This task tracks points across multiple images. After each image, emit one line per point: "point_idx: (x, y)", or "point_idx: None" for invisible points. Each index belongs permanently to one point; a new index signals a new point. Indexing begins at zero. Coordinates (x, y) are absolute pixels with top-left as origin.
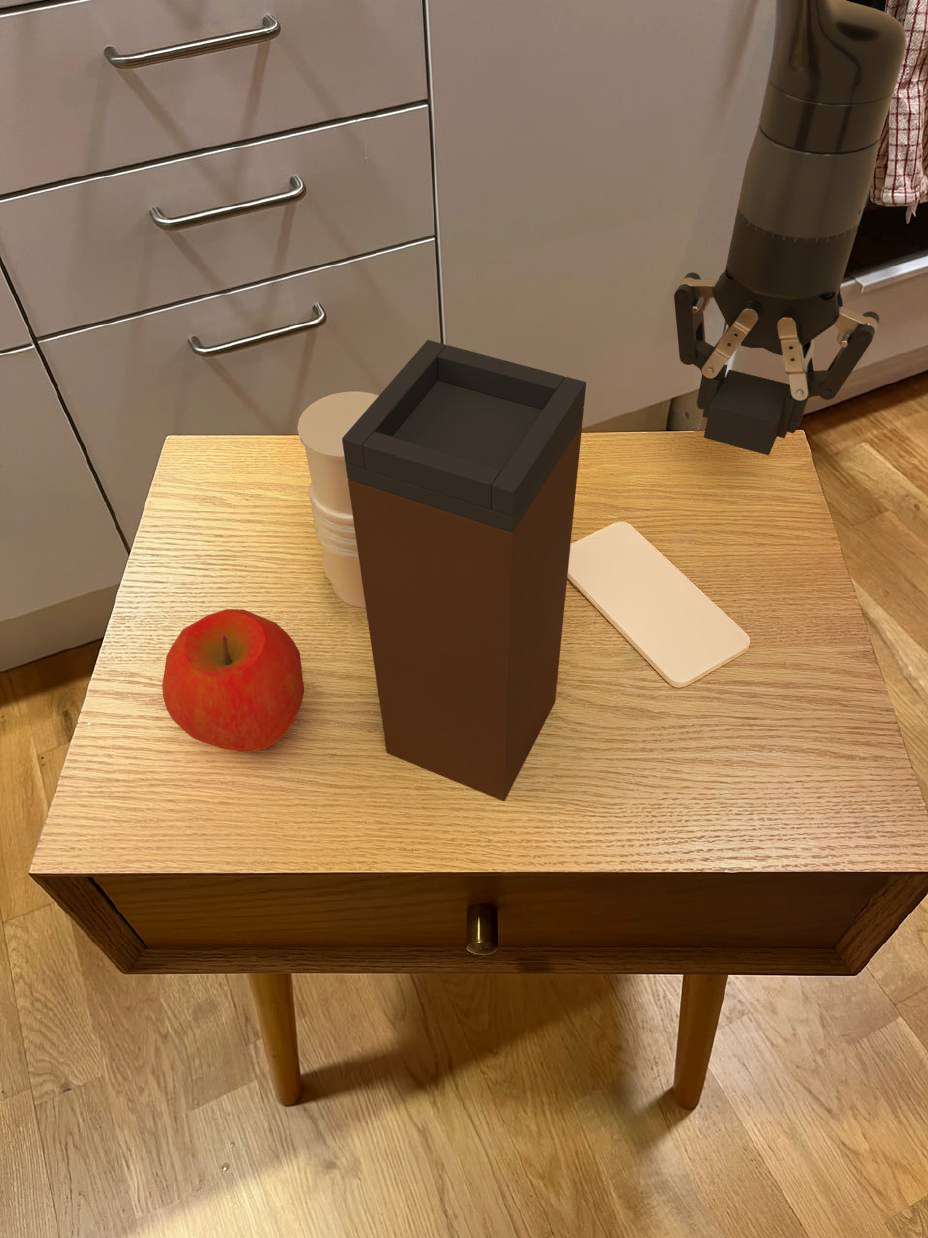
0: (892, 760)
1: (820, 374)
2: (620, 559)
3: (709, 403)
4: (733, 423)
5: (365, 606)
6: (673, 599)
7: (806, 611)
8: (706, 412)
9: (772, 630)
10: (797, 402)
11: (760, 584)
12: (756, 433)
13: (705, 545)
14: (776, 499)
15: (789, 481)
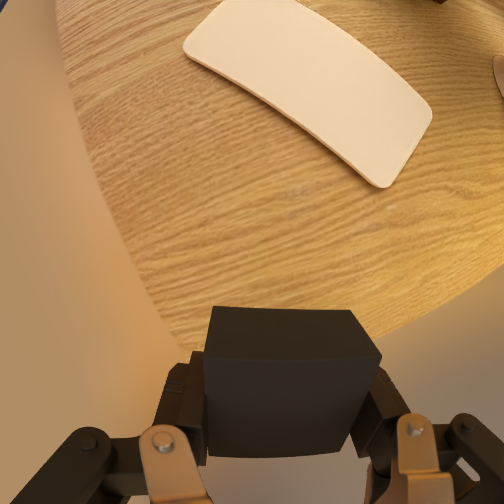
0: (61, 23)
1: (131, 488)
2: (370, 119)
3: None
4: (312, 339)
5: (500, 55)
6: (289, 70)
7: (130, 133)
8: None
9: (162, 87)
10: (173, 421)
11: (188, 152)
12: (250, 332)
13: (272, 194)
14: (205, 310)
15: (199, 342)
